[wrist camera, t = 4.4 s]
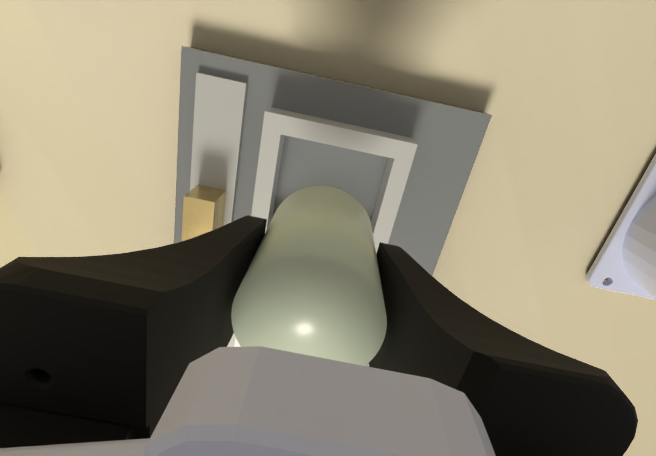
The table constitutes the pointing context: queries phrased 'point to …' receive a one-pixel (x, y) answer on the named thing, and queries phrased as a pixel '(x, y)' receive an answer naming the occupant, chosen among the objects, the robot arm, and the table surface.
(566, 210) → the table surface
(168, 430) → the robot arm
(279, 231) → the pale green egg
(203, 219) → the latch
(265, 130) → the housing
